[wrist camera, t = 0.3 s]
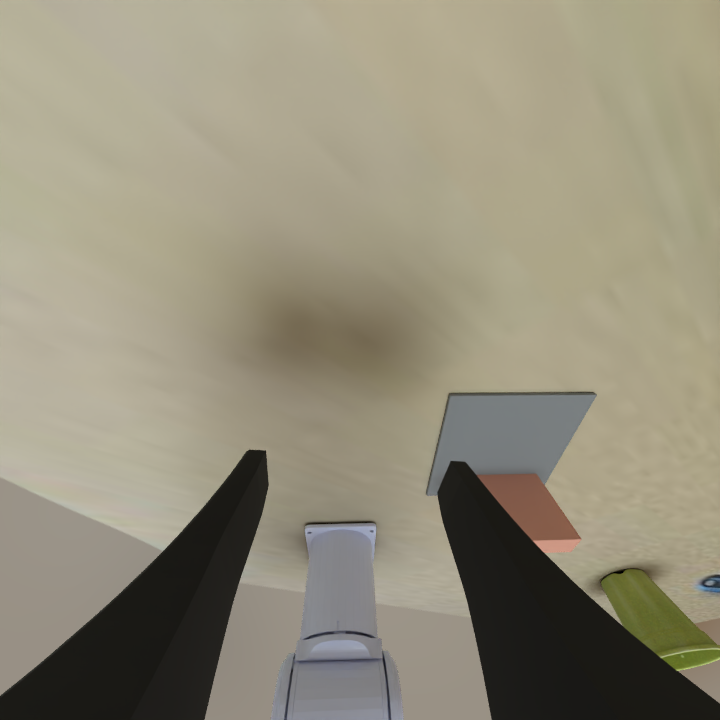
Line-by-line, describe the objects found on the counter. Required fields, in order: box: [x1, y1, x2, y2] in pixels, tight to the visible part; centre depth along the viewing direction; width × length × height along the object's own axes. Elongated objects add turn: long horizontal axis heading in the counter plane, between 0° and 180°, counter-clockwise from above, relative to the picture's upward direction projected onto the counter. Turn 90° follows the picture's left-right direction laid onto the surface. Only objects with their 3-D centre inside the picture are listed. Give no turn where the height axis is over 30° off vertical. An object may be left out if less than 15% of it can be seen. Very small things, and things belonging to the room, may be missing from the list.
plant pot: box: [601, 569, 720, 671], centre depth 37 cm, size 9×9×9 cm
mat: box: [426, 393, 597, 496], centre depth 25 cm, size 13×12×1 cm
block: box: [477, 474, 581, 553], centre depth 24 cm, size 2×9×6 cm, turn 89°
